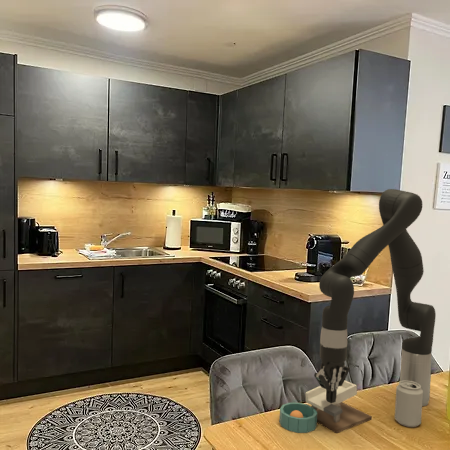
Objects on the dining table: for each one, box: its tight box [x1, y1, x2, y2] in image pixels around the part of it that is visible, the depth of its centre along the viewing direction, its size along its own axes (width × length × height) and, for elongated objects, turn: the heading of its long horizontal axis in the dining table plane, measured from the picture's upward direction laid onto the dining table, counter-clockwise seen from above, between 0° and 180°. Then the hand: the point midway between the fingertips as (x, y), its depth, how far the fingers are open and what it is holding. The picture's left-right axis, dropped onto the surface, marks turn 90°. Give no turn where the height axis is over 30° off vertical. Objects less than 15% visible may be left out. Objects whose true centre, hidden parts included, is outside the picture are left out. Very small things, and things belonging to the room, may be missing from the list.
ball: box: [290, 410, 303, 418], centre depth 134 cm, size 4×4×4 cm
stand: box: [310, 401, 373, 434], centre depth 141 cm, size 16×14×6 cm
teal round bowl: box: [278, 402, 318, 434], centre depth 136 cm, size 11×11×4 cm
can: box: [394, 380, 423, 428], centre depth 139 cm, size 8×8×12 cm
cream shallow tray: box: [304, 378, 358, 417], centre depth 140 cm, size 15×11×3 cm
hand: (330, 401), depth 133 cm, fingers closed
